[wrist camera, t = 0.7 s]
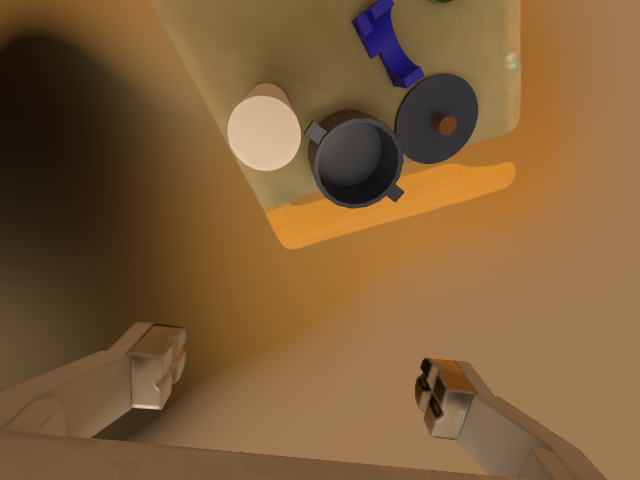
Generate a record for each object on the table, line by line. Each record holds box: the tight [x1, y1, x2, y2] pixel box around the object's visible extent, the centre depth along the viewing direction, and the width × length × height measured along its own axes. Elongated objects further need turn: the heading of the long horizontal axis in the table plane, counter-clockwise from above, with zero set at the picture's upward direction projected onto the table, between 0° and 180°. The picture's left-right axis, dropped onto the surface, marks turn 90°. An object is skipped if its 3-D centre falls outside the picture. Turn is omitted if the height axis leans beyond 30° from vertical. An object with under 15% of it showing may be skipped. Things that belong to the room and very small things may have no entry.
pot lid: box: [396, 74, 478, 164], centre depth 54 cm, size 15×15×5 cm
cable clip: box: [352, 0, 424, 88], centre depth 47 cm, size 12×4×6 cm, turn 34°
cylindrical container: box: [228, 83, 301, 171], centre depth 41 cm, size 7×7×25 cm
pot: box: [304, 110, 404, 208], centre depth 53 cm, size 15×20×10 cm
